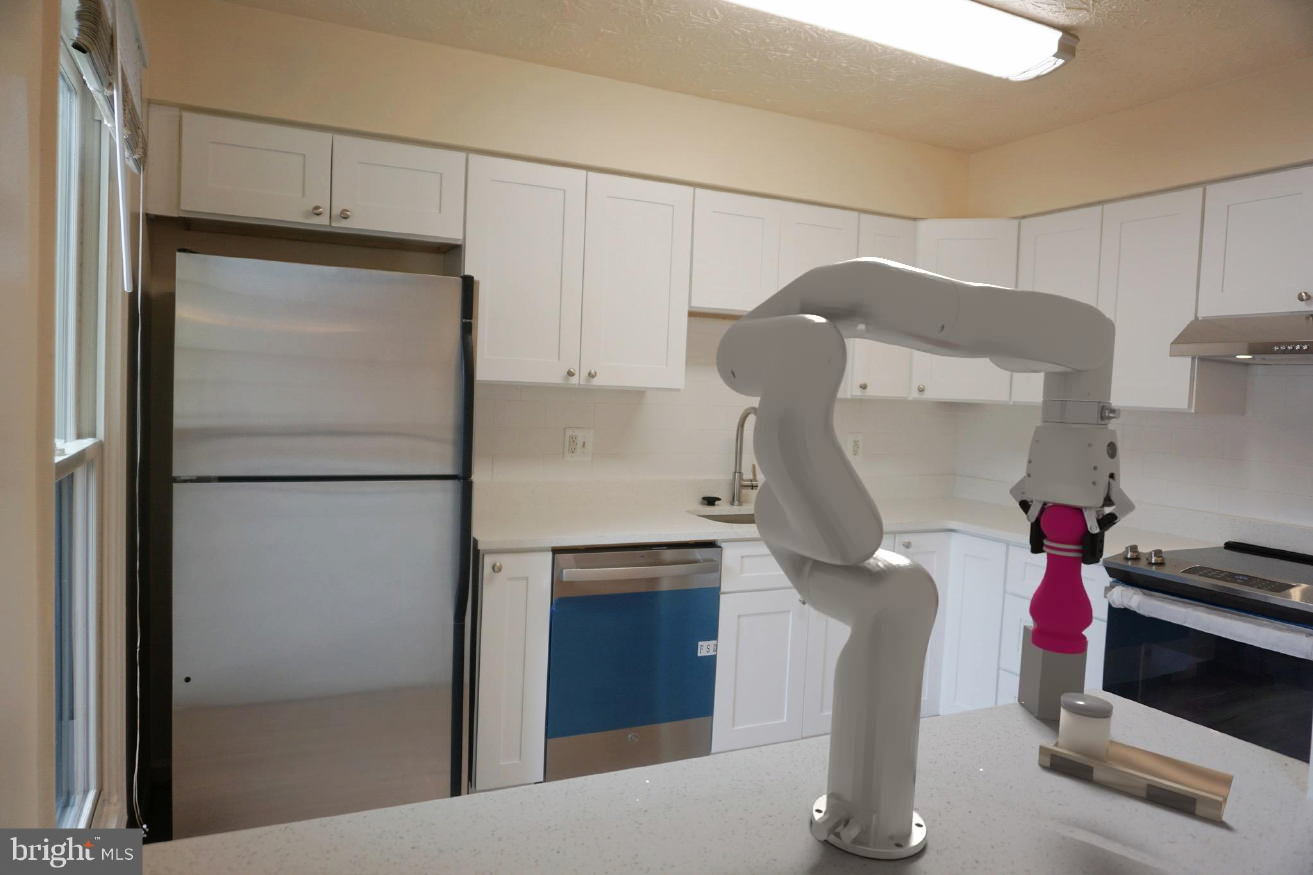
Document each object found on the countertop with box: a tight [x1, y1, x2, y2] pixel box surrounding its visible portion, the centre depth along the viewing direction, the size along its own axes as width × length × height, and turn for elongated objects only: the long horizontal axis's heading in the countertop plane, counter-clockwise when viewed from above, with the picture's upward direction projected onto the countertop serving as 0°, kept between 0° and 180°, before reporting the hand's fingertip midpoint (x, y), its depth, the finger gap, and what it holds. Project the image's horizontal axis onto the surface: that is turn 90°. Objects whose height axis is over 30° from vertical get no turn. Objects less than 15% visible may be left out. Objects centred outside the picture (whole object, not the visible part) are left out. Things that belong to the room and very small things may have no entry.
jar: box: [1057, 693, 1114, 762], centre depth 108 cm, size 6×6×8 cm
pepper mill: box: [1028, 504, 1094, 654], centre depth 100 cm, size 7×7×20 cm
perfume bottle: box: [1017, 618, 1089, 721], centre depth 124 cm, size 7×7×18 cm
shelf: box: [1037, 739, 1234, 823], centre depth 105 cm, size 16×20×4 cm
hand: (1064, 556), depth 100 cm, fingers closed on pepper mill, 5 cm apart
